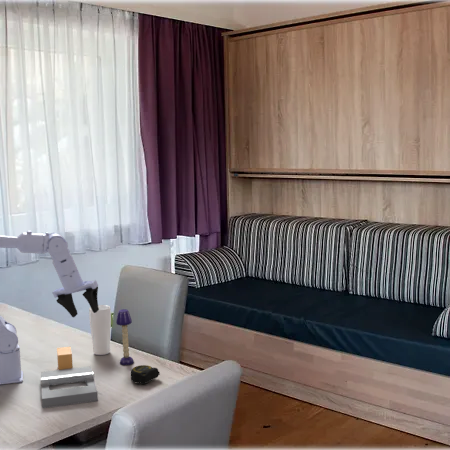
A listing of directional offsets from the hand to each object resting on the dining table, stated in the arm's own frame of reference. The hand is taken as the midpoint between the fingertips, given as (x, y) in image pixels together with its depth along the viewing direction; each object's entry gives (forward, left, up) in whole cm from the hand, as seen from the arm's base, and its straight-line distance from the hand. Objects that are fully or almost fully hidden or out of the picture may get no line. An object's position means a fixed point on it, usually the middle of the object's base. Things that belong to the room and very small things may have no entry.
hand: (85, 313), depth 190 cm
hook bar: (-7, -16, -14) cm, 22 cm away
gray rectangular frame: (-7, -16, -17) cm, 24 cm away
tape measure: (+15, -16, -17) cm, 28 cm away
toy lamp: (+11, 0, -17) cm, 20 cm away
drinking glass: (+5, +12, -17) cm, 22 cm away
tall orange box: (-7, 0, -17) cm, 18 cm away
